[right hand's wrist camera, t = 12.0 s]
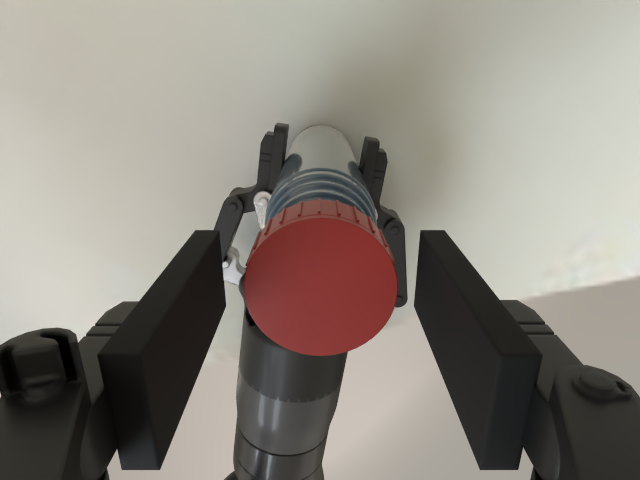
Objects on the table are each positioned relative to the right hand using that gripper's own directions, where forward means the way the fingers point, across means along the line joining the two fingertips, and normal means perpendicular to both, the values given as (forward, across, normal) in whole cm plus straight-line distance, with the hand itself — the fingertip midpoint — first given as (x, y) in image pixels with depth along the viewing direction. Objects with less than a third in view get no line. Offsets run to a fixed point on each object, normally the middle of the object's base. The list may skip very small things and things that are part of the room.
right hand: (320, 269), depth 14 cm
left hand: (+13, 0, -3) cm, 14 cm away
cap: (-1, 0, 0) cm, 1 cm away
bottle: (+20, 0, 0) cm, 20 cm away
